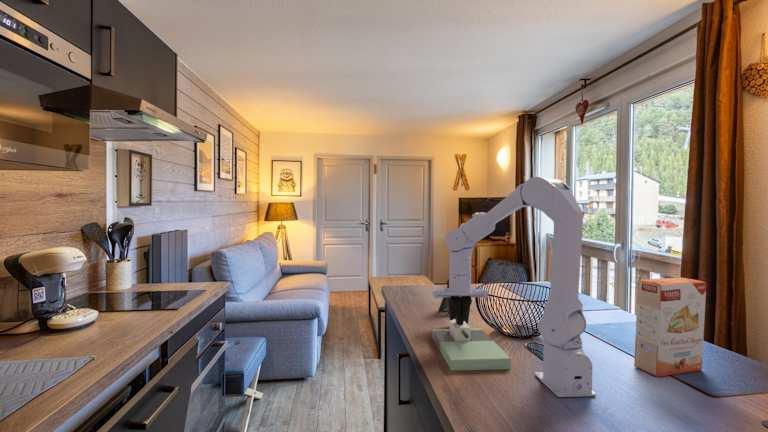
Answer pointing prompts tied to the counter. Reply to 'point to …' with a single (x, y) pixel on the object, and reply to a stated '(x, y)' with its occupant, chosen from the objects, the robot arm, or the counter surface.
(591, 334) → the counter surface
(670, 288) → the cracker box
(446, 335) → the board
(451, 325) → the plug
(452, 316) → the dixie cup
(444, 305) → the door stopper
